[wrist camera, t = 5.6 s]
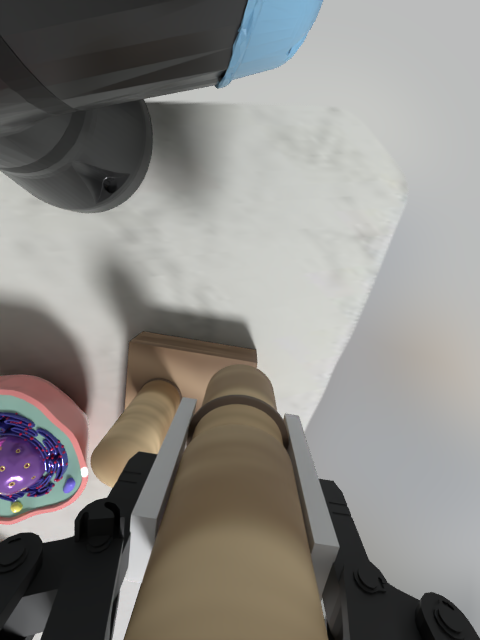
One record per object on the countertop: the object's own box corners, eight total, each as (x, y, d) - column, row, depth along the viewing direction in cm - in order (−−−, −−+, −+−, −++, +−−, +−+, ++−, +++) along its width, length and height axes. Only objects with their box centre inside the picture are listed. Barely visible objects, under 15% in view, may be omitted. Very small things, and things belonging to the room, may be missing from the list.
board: (143, 331, 33) (69, 387, 19) (256, 349, 33) (262, 418, 19) (131, 477, 38) (67, 602, 25) (228, 492, 38) (218, 624, 25)
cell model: (-42, 354, 34) (-178, 402, 23) (114, 357, 34) (49, 408, 23) (-12, 465, 38) (-116, 550, 27) (126, 469, 38) (77, 558, 27)
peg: (206, 353, 16) (-18, 923, 2) (285, 366, 16) (487, 983, 3) (197, 422, 17) (15, 1052, 4) (270, 433, 17) (354, 1092, 4)
